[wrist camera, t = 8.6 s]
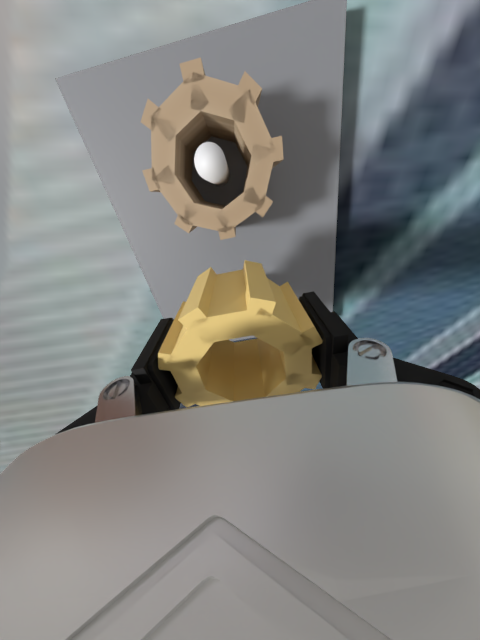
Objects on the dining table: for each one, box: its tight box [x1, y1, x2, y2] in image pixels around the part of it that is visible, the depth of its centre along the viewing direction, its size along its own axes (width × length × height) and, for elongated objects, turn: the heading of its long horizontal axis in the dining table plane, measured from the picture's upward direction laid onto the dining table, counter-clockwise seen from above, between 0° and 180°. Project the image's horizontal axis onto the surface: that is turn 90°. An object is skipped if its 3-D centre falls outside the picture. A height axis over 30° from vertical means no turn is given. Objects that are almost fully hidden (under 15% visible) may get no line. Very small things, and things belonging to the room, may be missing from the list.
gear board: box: [55, 0, 347, 341], centre depth 14 cm, size 16×20×7 cm
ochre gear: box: [158, 260, 322, 407], centre depth 11 cm, size 7×7×4 cm
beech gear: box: [141, 57, 284, 240], centre depth 12 cm, size 7×7×4 cm
